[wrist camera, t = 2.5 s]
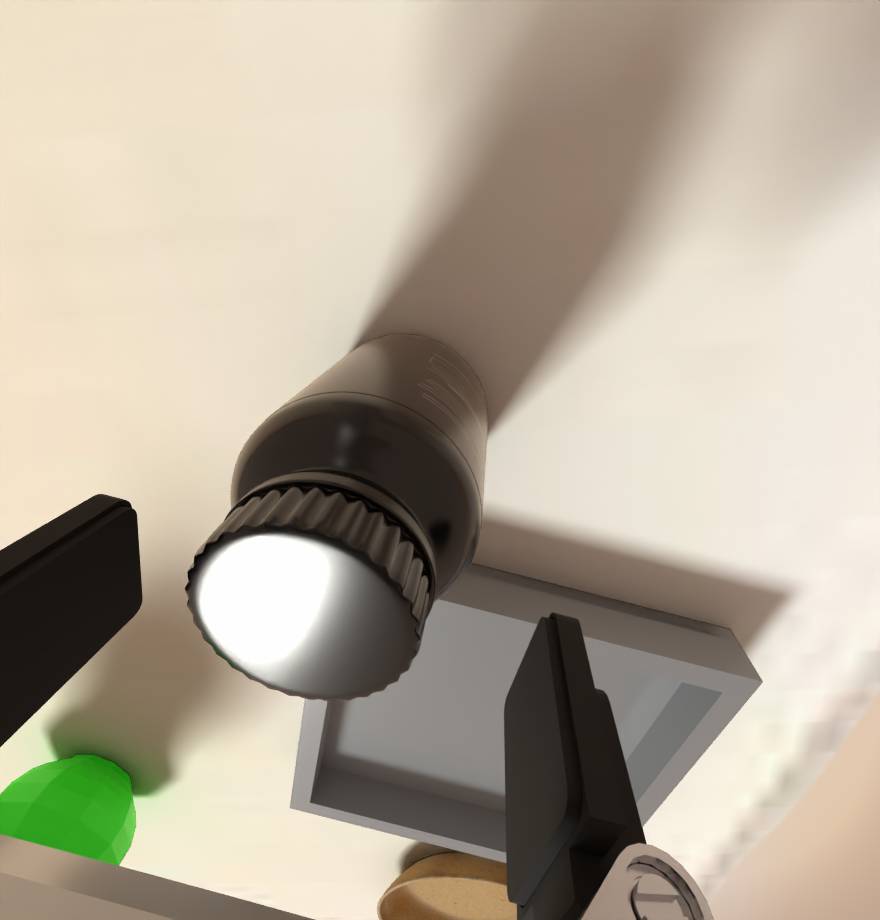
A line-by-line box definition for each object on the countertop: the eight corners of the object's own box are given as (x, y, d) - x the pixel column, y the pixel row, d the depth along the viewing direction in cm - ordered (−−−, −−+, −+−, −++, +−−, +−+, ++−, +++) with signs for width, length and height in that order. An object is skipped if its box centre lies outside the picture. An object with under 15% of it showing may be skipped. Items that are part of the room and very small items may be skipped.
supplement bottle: (317, 335, 18) (70, 465, 8) (485, 325, 18) (469, 455, 7) (345, 483, 21) (194, 727, 11) (490, 481, 20) (485, 745, 10)
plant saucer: (578, 851, 33) (584, 897, 31) (551, 938, 40) (555, 982, 37) (381, 822, 34) (373, 864, 32) (386, 911, 41) (380, 952, 39)
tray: (343, 530, 23) (322, 569, 20) (731, 629, 23) (762, 681, 20) (307, 759, 31) (289, 808, 29) (585, 830, 31) (593, 885, 29)
